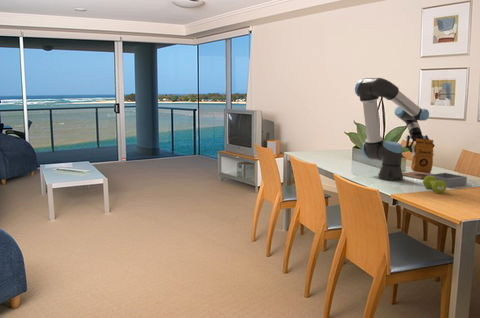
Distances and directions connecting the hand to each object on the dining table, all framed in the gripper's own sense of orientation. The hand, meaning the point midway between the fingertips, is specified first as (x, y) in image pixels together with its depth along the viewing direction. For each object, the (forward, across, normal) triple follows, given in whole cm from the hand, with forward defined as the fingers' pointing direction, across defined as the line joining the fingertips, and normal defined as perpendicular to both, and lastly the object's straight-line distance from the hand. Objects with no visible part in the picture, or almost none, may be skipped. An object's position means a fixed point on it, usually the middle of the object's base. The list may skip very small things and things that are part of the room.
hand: (423, 156), depth 288 cm
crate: (+26, -4, +6) cm, 27 cm away
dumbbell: (+38, +12, +18) cm, 44 cm away
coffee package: (+6, 0, -9) cm, 11 cm away
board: (+8, 0, -12) cm, 14 cm away
